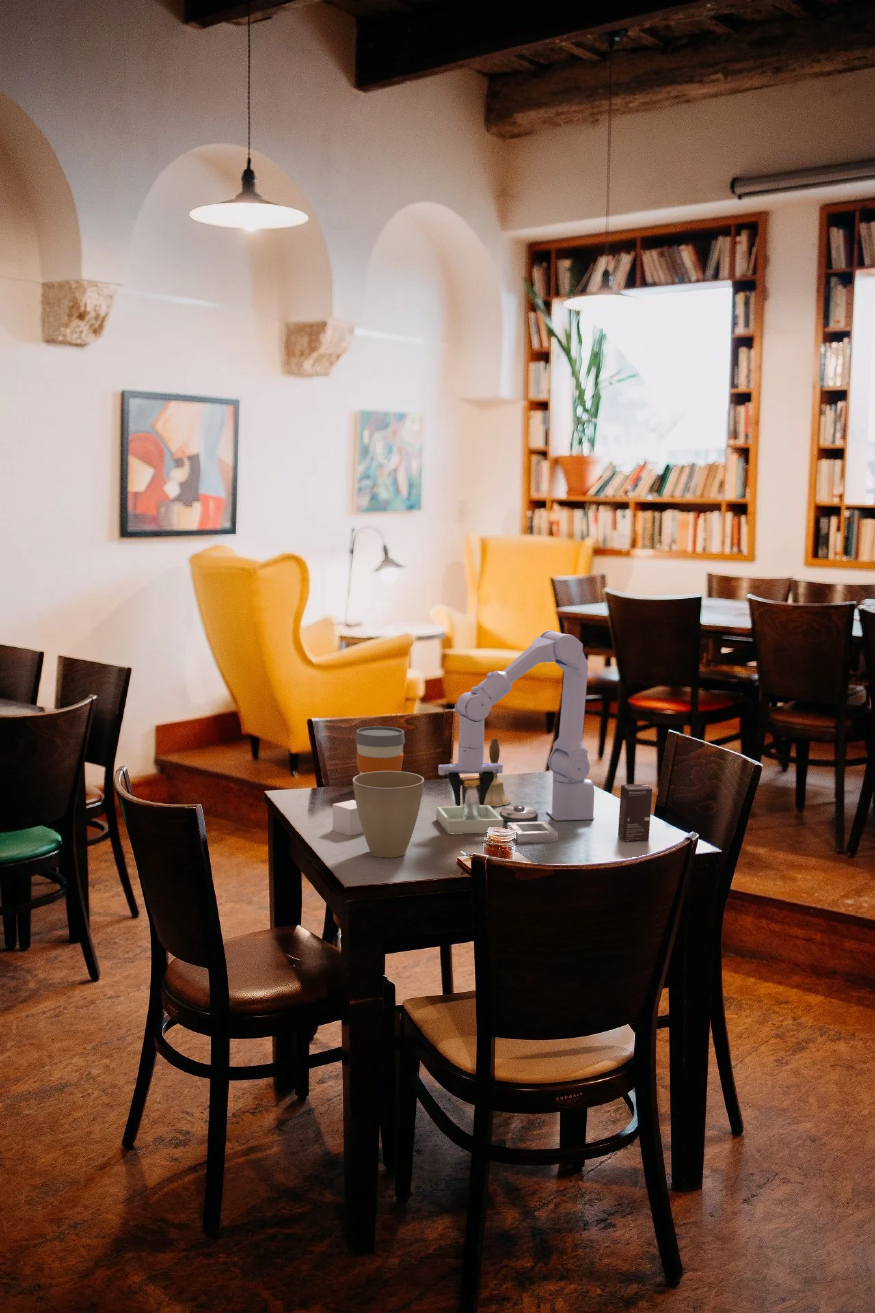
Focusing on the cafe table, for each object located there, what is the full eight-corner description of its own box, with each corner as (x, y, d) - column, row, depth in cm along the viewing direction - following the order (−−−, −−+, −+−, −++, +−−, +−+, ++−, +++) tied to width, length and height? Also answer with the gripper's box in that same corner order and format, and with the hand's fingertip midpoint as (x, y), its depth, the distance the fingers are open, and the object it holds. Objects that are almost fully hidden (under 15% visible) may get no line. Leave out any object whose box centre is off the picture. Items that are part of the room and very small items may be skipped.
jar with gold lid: (483, 815, 281) (482, 775, 280) (482, 820, 276) (481, 780, 275) (461, 815, 281) (459, 776, 280) (459, 821, 276) (458, 781, 275)
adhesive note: (349, 836, 269) (350, 809, 269) (332, 830, 274) (332, 804, 273) (370, 831, 274) (370, 804, 273) (352, 825, 278) (353, 799, 277)
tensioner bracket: (531, 817, 288) (532, 801, 287) (557, 841, 269) (558, 824, 268) (494, 818, 286) (495, 802, 286) (518, 842, 267) (518, 825, 266)
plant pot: (370, 839, 267) (371, 767, 265) (433, 848, 261) (435, 775, 259) (339, 857, 253) (340, 782, 251) (404, 867, 248) (406, 790, 245)
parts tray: (488, 817, 287) (489, 805, 286) (502, 832, 275) (503, 819, 274) (436, 819, 284) (436, 806, 284) (448, 834, 272) (448, 821, 271)
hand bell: (470, 803, 300) (471, 739, 298) (487, 796, 307) (489, 733, 305) (499, 808, 295) (501, 743, 293) (516, 801, 302) (518, 738, 300)
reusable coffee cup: (344, 787, 312) (345, 730, 310) (382, 780, 320) (383, 724, 318) (376, 797, 303) (377, 738, 301) (414, 790, 311) (415, 732, 309)
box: (624, 842, 269) (627, 789, 267) (617, 836, 273) (619, 784, 272) (650, 841, 270) (653, 788, 269) (642, 835, 275) (645, 783, 273)
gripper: (497, 741, 282) (496, 799, 284) (436, 742, 279) (434, 801, 281) (505, 748, 275) (503, 807, 277) (442, 749, 272) (441, 809, 274)
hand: (469, 804), depth 279 cm, fingers closed on jar with gold lid, 5 cm apart
